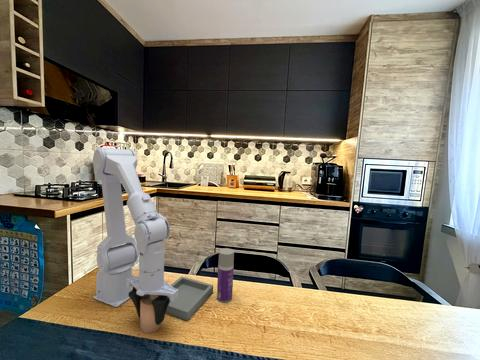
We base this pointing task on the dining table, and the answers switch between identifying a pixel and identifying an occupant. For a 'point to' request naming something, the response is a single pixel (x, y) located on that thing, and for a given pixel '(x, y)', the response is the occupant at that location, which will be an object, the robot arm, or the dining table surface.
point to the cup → (148, 315)
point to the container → (225, 275)
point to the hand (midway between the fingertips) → (151, 318)
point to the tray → (188, 297)
